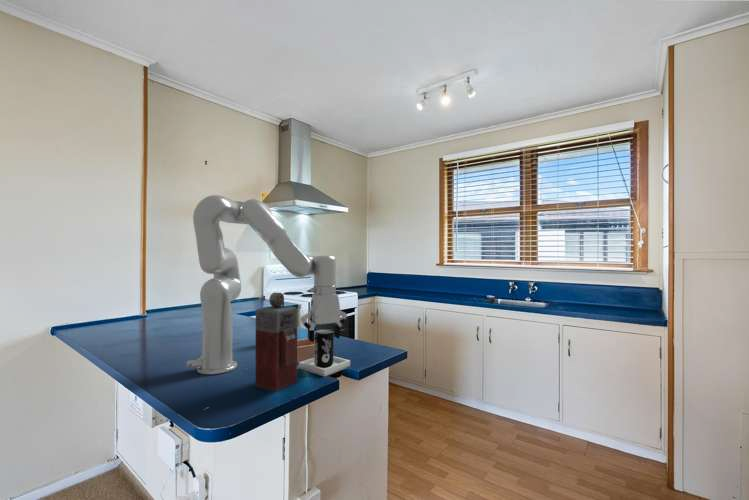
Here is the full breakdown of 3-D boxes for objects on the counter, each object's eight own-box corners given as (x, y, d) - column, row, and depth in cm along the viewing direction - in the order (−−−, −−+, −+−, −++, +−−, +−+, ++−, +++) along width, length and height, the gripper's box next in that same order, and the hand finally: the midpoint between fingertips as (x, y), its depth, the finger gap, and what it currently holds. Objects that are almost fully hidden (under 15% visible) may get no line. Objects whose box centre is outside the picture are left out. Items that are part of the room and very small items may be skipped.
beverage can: (337, 364, 121) (337, 330, 122) (325, 369, 116) (325, 334, 116) (322, 361, 125) (322, 328, 125) (310, 366, 119) (310, 331, 119)
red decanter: (283, 392, 98) (284, 295, 99) (254, 386, 103) (255, 293, 104) (303, 382, 106) (303, 292, 107) (275, 376, 111) (275, 290, 112)
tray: (324, 376, 111) (324, 369, 112) (298, 368, 119) (298, 362, 119) (350, 366, 121) (350, 360, 121) (325, 359, 129) (325, 354, 129)
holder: (294, 363, 125) (294, 348, 125) (284, 355, 134) (284, 341, 135) (321, 358, 131) (321, 344, 131) (311, 351, 140) (311, 338, 140)
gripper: (305, 293, 113) (304, 345, 113) (351, 290, 122) (351, 338, 122) (297, 291, 119) (297, 340, 119) (341, 288, 128) (341, 334, 128)
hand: (324, 339), depth 120 cm, fingers open, 9 cm apart
